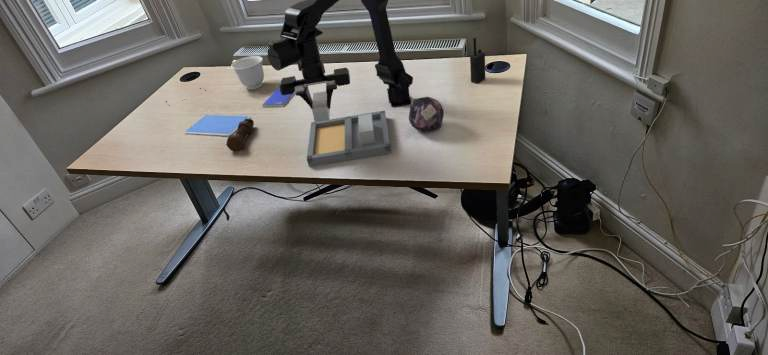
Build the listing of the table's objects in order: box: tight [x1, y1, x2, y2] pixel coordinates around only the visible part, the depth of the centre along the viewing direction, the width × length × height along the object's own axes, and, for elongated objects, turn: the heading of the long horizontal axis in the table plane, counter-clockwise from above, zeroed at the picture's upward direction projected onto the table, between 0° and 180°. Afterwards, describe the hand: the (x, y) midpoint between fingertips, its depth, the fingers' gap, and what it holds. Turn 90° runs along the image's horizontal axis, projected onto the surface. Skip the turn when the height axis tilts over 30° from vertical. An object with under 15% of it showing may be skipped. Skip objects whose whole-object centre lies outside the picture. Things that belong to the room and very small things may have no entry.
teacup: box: [230, 55, 265, 90], centre depth 180 cm, size 12×15×10 cm
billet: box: [311, 90, 331, 122], centre depth 131 cm, size 4×10×4 cm, turn 4°
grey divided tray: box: [306, 110, 392, 167], centre depth 136 cm, size 23×21×5 cm
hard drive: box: [261, 88, 296, 108], centre depth 169 cm, size 2×8×12 cm
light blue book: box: [184, 114, 251, 137], centre depth 158 cm, size 19×13×1 cm, turn 70°
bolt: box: [226, 118, 255, 153], centre depth 147 cm, size 6×5×15 cm
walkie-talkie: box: [469, 37, 486, 84], centre depth 153 cm, size 5×3×15 cm
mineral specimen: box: [408, 96, 444, 133], centre depth 134 cm, size 10×10×10 cm
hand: (321, 109), depth 131 cm, fingers closed on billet, 4 cm apart
